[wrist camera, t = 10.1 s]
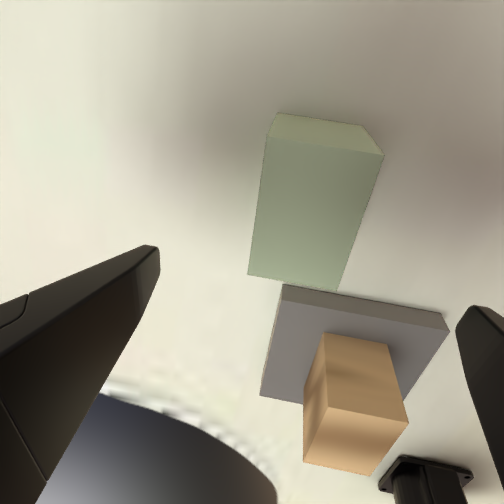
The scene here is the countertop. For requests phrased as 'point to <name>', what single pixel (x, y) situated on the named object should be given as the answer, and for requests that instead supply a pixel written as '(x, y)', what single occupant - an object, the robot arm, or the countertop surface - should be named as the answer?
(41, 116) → the countertop surface
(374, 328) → the grey baseplate
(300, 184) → the sage brick
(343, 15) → the countertop surface
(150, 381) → the countertop surface
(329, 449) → the oak brick
